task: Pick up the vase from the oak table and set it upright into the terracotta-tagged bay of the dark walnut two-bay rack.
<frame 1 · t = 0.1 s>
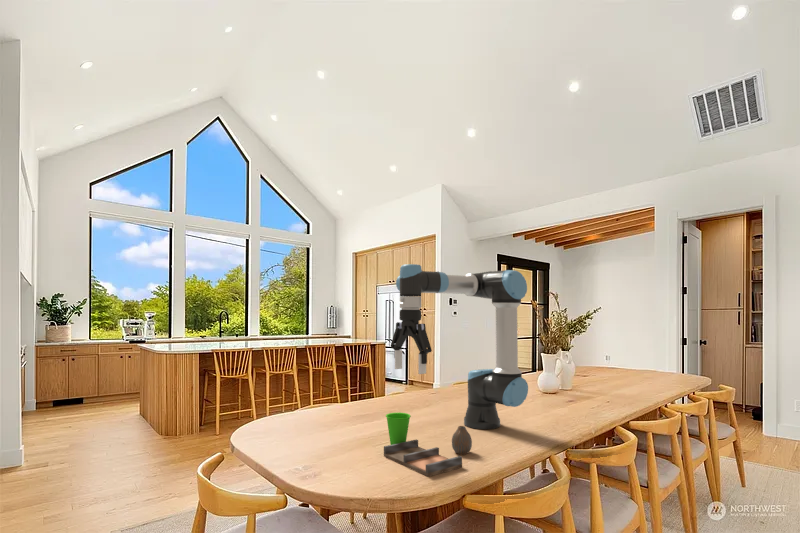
hand: (410, 371, 162), 28 cm above the table, tool pointing down, fingers open, 13 cm apart
rack: (421, 461, 154), on the table
cup: (398, 447, 169), on the table
vase: (461, 453, 163), on the table
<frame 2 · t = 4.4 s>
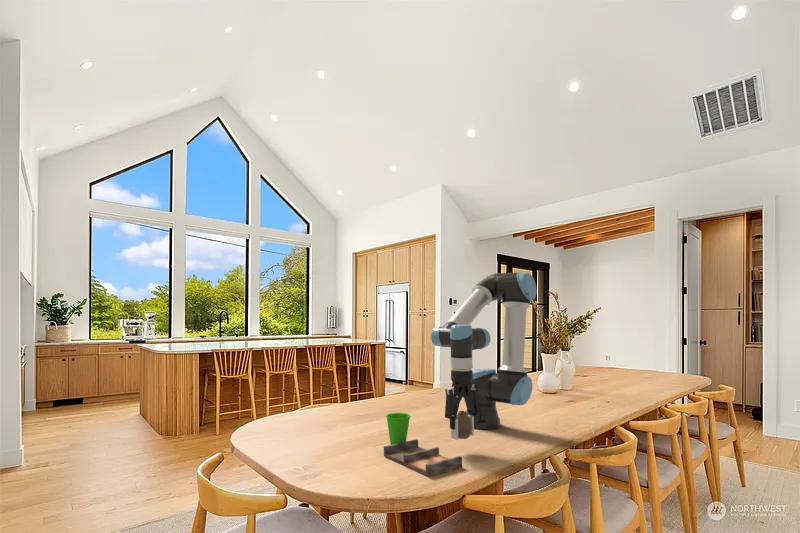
hand: (462, 436, 164), 5 cm above the table, tool pointing down, fingers closed on vase, 7 cm apart
vase: (462, 437, 164), point 5 cm above the table, touching gripper
everything else where it was.
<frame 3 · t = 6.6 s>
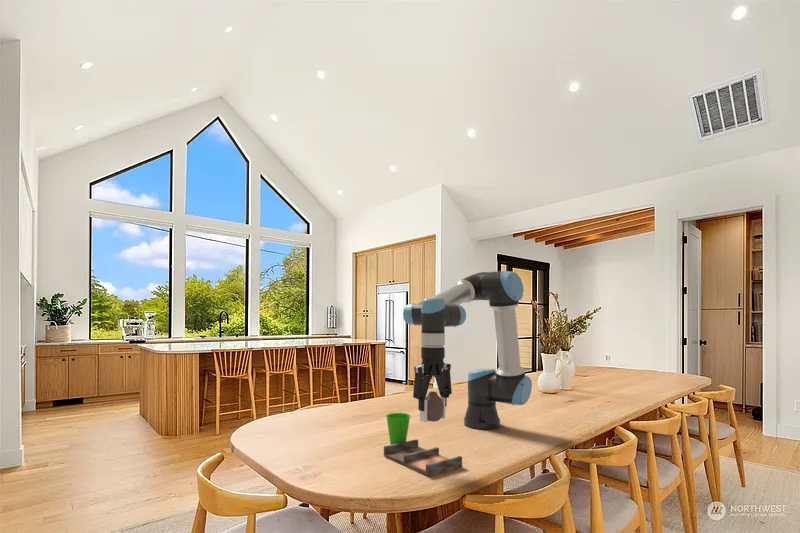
hand: (432, 419, 150), 15 cm above the table, tool pointing down, fingers closed on vase, 7 cm apart
vase: (432, 420, 150), point 14 cm above the table, touching gripper
everything else where it was.
when the fingers open (2 cm above the table, at t = 9.0 s): vase stays where it is, resting on rack.
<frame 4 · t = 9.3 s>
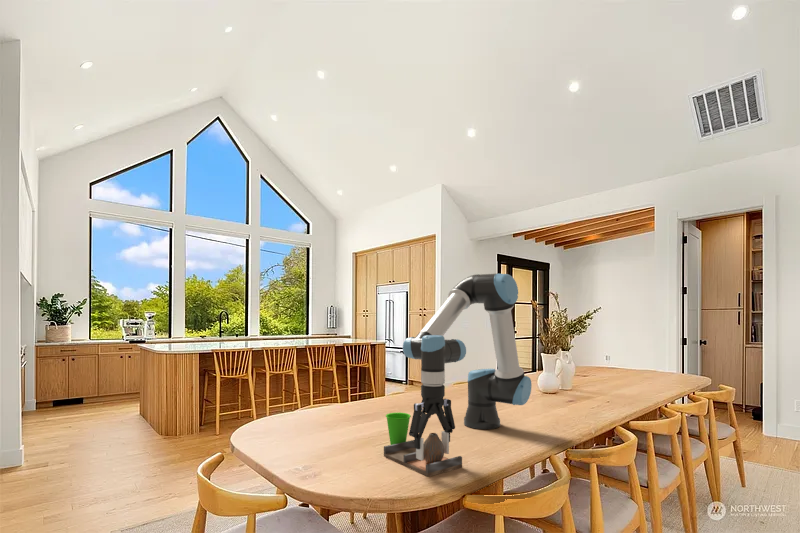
hand: (432, 455, 150), 3 cm above the table, tool pointing down, fingers open, 10 cm apart
vase: (433, 462, 149), point 1 cm above the table, touching rack
everything else where it was.
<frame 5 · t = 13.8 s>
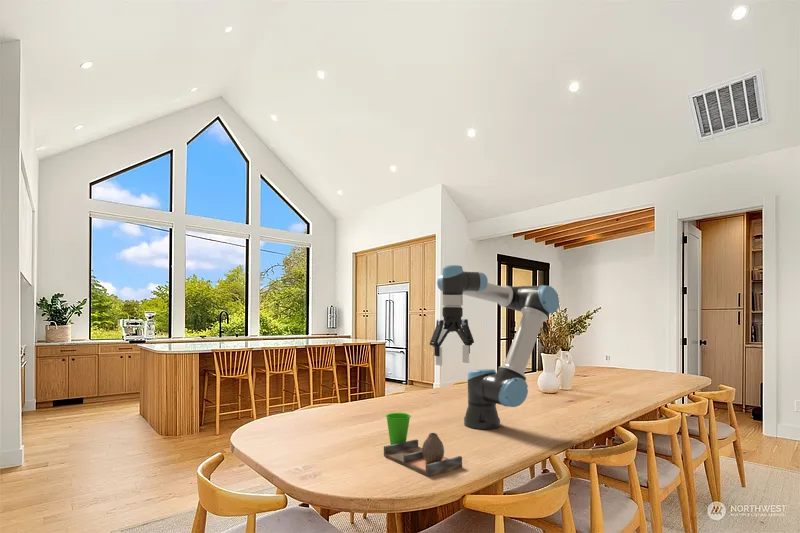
hand: (452, 364, 176), 29 cm above the table, tool pointing down, fingers open, 13 cm apart
nothing on the table moved.
at the end: vase inside the target area on the rack (0.3 cm from its centre), point 1.0 cm above the rack's base; vase tilted 0°; the gripper is holding nothing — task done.
